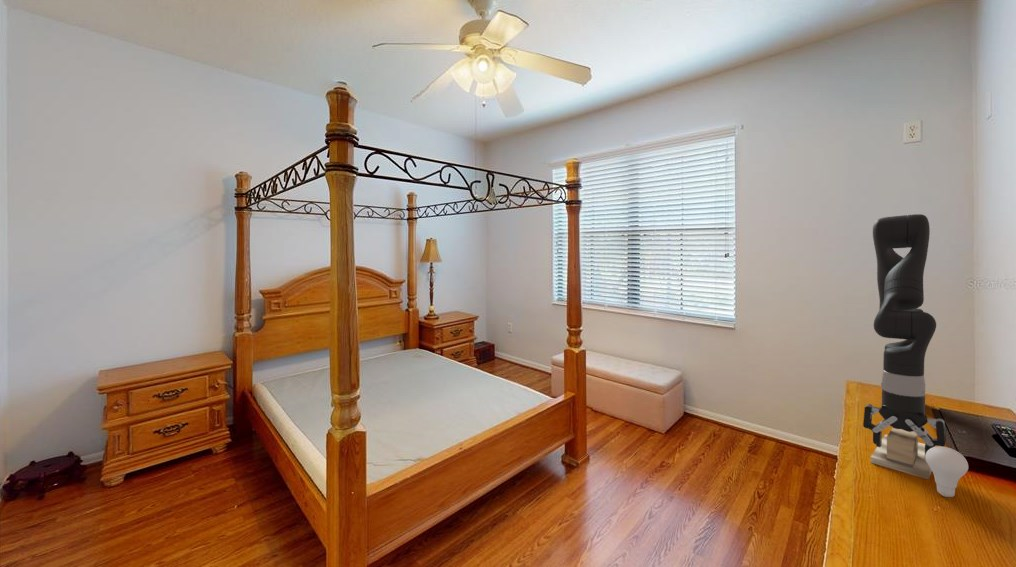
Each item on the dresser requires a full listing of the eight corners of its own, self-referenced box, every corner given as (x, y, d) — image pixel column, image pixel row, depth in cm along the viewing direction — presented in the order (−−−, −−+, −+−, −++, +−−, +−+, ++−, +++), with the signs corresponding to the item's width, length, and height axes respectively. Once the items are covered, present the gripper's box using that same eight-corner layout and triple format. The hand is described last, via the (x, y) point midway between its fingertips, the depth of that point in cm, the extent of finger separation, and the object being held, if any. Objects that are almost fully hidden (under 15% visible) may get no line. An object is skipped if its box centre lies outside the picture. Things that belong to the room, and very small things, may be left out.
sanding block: (892, 449, 99) (892, 427, 99) (917, 455, 95) (918, 432, 95) (886, 459, 94) (886, 436, 94) (912, 467, 91) (913, 443, 90)
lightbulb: (964, 494, 82) (965, 446, 82) (970, 509, 78) (971, 458, 77) (923, 484, 87) (923, 438, 86) (926, 497, 82) (927, 449, 81)
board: (884, 439, 107) (885, 434, 107) (938, 452, 99) (938, 447, 99) (870, 462, 96) (870, 456, 96) (928, 479, 88) (928, 473, 88)
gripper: (948, 393, 90) (946, 457, 91) (867, 379, 102) (867, 437, 103) (944, 401, 86) (943, 469, 87) (860, 386, 97) (860, 446, 98)
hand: (902, 452), depth 95 cm, fingers open, 8 cm apart
